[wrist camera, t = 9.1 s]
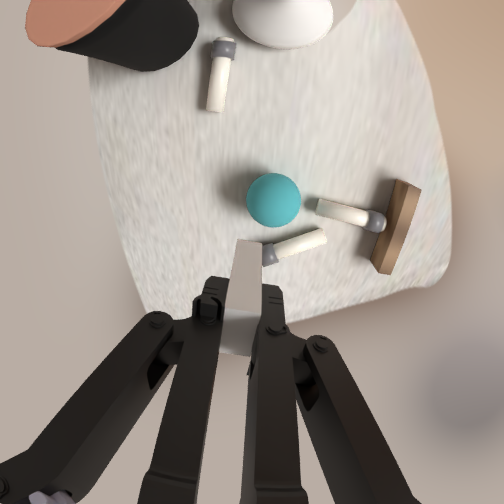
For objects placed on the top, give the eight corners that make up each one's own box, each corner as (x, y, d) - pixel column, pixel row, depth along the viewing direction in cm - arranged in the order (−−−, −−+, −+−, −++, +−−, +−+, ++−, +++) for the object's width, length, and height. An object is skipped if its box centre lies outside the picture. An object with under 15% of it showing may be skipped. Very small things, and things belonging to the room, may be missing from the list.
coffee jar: (137, 1, 21) (59, -51, 5) (213, 5, 22) (170, -77, 6) (111, 70, 25) (9, 54, 9) (185, 78, 26) (106, 42, 10)
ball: (260, 166, 26) (313, 198, 26) (266, 160, 31) (309, 186, 32) (231, 216, 28) (281, 245, 29) (241, 202, 34) (283, 226, 34)
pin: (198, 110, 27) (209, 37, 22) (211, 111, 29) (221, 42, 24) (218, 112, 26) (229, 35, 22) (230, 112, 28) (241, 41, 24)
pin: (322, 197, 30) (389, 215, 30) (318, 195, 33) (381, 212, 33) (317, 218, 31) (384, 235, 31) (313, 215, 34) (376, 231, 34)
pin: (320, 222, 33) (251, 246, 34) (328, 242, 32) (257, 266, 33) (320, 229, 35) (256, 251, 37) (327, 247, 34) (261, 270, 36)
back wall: (396, 178, 31) (409, 185, 28) (408, 183, 31) (421, 189, 28) (369, 260, 36) (378, 272, 33) (381, 262, 36) (390, 275, 33)
